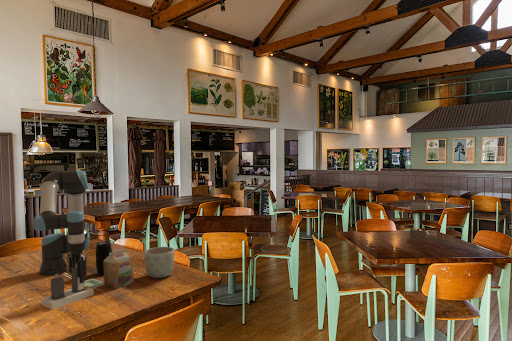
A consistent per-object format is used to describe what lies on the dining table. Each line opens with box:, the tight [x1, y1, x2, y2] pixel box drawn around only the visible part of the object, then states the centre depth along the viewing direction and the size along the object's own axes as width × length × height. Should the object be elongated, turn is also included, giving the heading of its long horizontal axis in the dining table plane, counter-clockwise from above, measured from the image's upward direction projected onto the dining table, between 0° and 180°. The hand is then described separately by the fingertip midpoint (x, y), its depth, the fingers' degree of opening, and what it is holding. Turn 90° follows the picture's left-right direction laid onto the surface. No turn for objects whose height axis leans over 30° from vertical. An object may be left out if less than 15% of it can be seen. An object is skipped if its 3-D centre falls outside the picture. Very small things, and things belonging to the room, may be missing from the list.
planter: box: [144, 246, 175, 279], centre depth 203 cm, size 17×17×15 cm
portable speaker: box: [95, 240, 113, 277], centre depth 208 cm, size 9×9×20 cm
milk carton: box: [103, 248, 134, 290], centre depth 189 cm, size 11×11×19 cm
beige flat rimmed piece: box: [41, 286, 94, 310], centre depth 169 cm, size 10×20×4 cm, turn 147°
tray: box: [84, 278, 104, 290], centre depth 188 cm, size 11×11×2 cm
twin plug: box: [50, 273, 65, 300], centre depth 165 cm, size 4×4×14 cm
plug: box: [70, 264, 84, 293], centre depth 173 cm, size 4×4×14 cm
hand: (78, 288), depth 173 cm, fingers closed on plug, 4 cm apart
